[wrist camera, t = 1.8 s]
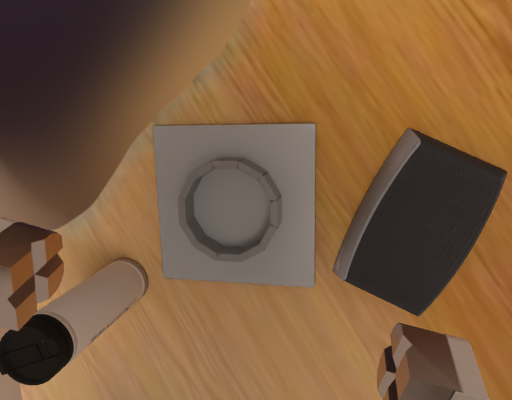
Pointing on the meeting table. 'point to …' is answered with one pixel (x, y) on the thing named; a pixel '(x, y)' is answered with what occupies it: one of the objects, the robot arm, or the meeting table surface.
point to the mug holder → (237, 202)
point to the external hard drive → (418, 221)
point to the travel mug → (71, 323)
